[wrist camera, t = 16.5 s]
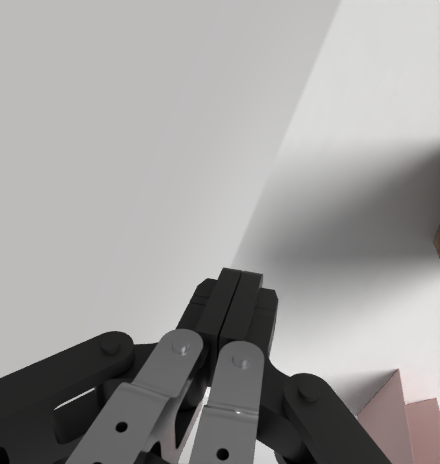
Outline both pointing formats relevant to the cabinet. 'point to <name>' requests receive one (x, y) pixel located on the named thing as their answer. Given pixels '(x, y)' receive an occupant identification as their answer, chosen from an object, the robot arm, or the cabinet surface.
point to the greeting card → (403, 425)
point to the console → (437, 241)
